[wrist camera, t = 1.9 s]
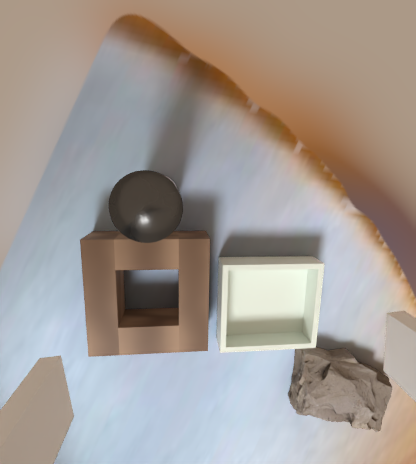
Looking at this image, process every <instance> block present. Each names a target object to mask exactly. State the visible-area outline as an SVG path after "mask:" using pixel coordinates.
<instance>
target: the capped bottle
mask: <svg viewBox="0 0 416 464" xmlns="http://www.w3.org/2000/svg"><path fill="white" fill-rule="evenodd" d="M182 212H183V204H182V198H181V195H180V192H179V190H178V188H177V186H176V184H175V183H174V181H173V180H172V179H170V178H169V177H167V176H164V175H162V174H160V173H157V172H154V171H147V170H143V171H136V172H132V173H130V174H128V175H126V176H124V177H123V178H122V179H120V180H119V181H118V182H117V184H116V185H115V186H114V188H113V190H112V192H111V195H110V198H109V213H110V217H111V219H112V222H113V223H114V225H115V227H116V228H117V229H118V230H119V231H120V232H121V233H122V234H123V235H124V236H126V237H127V238H129V239H131V240H134V241H137V242H141V243H152V242H157V241H160V240H162V239H164V238H166V237H168V236H169V235H170V234H171V233H172V232H173V231H174V230H175V229H176V228H177V226H178V224H179V222H180V220H181V217H182Z"/></svg>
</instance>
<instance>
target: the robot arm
mask: <svg viewBox="0 0 416 464" xmlns="http://www.w3.org/2000/svg"><path fill="white" fill-rule="evenodd" d="M383 371H384V372H385V373H386V374H387V375H388V376H389V377H390V378H392V379H393V380H394V381H395V382H396V383H397V384H398V385H399V386H400V387H401V388H402V389H403V390H404V391H405V392H406V393H407V394H408V395H409V396H410V397H411V398H412V399H413V400H414V401H415V402H416V318H415V317H413V316H412V315H410V314H408V313H407V312H405V311H399V312H391V313H387V319H386V335H385V352H384V369H383ZM73 417H74V414H73V410H72V405H71V401H70V396H69V391H68V387H67V382H66V378H65V373H64V368H63V364H62V359H61V356H54V357H46V358H40V359H39V360H38V361H37V363H36V364H35V365H34V367H33V368H32V369H31V371H30V372H29V373H28V375H27V376H26V377H25V378H24V380H23V381H22V382H21V384H20V385H19V386H18V388H17V389H16V390H15V392H14V393H13V394H12V396H11V397H10V398H9V400H8V401H7V402H6V404H5V405H4V406H3V408H2V409H1V410H0V464H54V461H55V459H56V457H57V454H58V452H59V450H60V447H61V445H62V443H63V441H64V438H65V436H66V434H67V431H68V429H69V427H70V424H71V422H72V420H73Z"/></svg>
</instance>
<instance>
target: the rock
mask: <svg viewBox="0 0 416 464" xmlns="http://www.w3.org/2000/svg"><path fill="white" fill-rule="evenodd" d="M391 392H392V386H391V384H390V382H389V378H388V377H387V376H385V375H383V374H381V373H380V372H378V371H377V370H376V369H374V368H373V367H371V366H369V365H367V364H365V363H360V362H357V361H356V359H355V357H354V356H353V355H352V354H351V353H350V352H349V351H348V350H347V349H346V348H340V349H334V350H328V351H327V350H325V349H322V348H318V347H316V348H303V349H295V357H294V368H293V374H292V383H291V386H290V391H289V393H288V396H289V399H290V403H291V405H292V406H293V408H294V409H295V410H296V413H297V414H299V415H305V416H307V415H312V416H314V417H317V418H321V419H323V420H326V421H331V422H334V421H336V422H342V421H345V422H350V424H351V426H352V427H353V428H357V429H358V428H362V429H369V430H370V429H371V428H372V429H373V430H375V431H376V432H378V431H380V430H381V424H382V419H383V416H384V413H385V410H386V408H387V404H388V402H389V399H390V397H391Z"/></svg>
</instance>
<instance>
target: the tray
mask: <svg viewBox="0 0 416 464" xmlns="http://www.w3.org/2000/svg"><path fill="white" fill-rule="evenodd" d="M323 273H324V263H323V262H321V261H319V260H318V259H316V258H314V257H313V256H258V257H219V261H218V298H217V335H216V338H217V342H218V346H219V350H220V353H224V352H243V351H263V350H283V349H303V348H316V341H317V331H318V322H319V312H320V302H321V293H322V283H323Z"/></svg>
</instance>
